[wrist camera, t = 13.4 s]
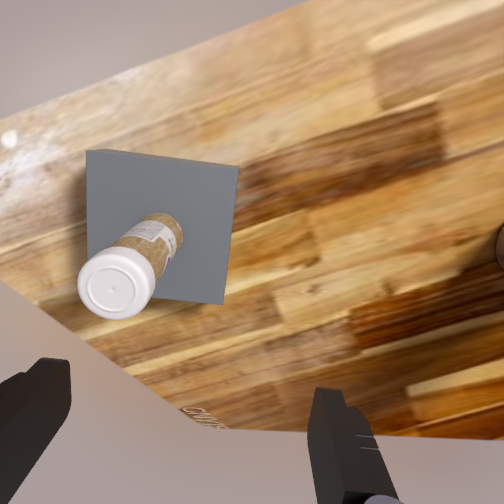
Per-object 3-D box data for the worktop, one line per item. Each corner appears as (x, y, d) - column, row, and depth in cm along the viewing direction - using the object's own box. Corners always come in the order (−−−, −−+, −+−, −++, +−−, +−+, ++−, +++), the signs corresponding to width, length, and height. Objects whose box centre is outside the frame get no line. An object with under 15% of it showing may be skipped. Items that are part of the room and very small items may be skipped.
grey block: (239, 166, 38) (238, 170, 33) (225, 286, 42) (222, 305, 37) (106, 148, 37) (85, 150, 32) (105, 272, 41) (87, 290, 36)
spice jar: (180, 259, 36) (144, 328, 23) (135, 251, 35) (72, 316, 22) (186, 215, 34) (152, 262, 21) (139, 206, 34) (75, 249, 21)
